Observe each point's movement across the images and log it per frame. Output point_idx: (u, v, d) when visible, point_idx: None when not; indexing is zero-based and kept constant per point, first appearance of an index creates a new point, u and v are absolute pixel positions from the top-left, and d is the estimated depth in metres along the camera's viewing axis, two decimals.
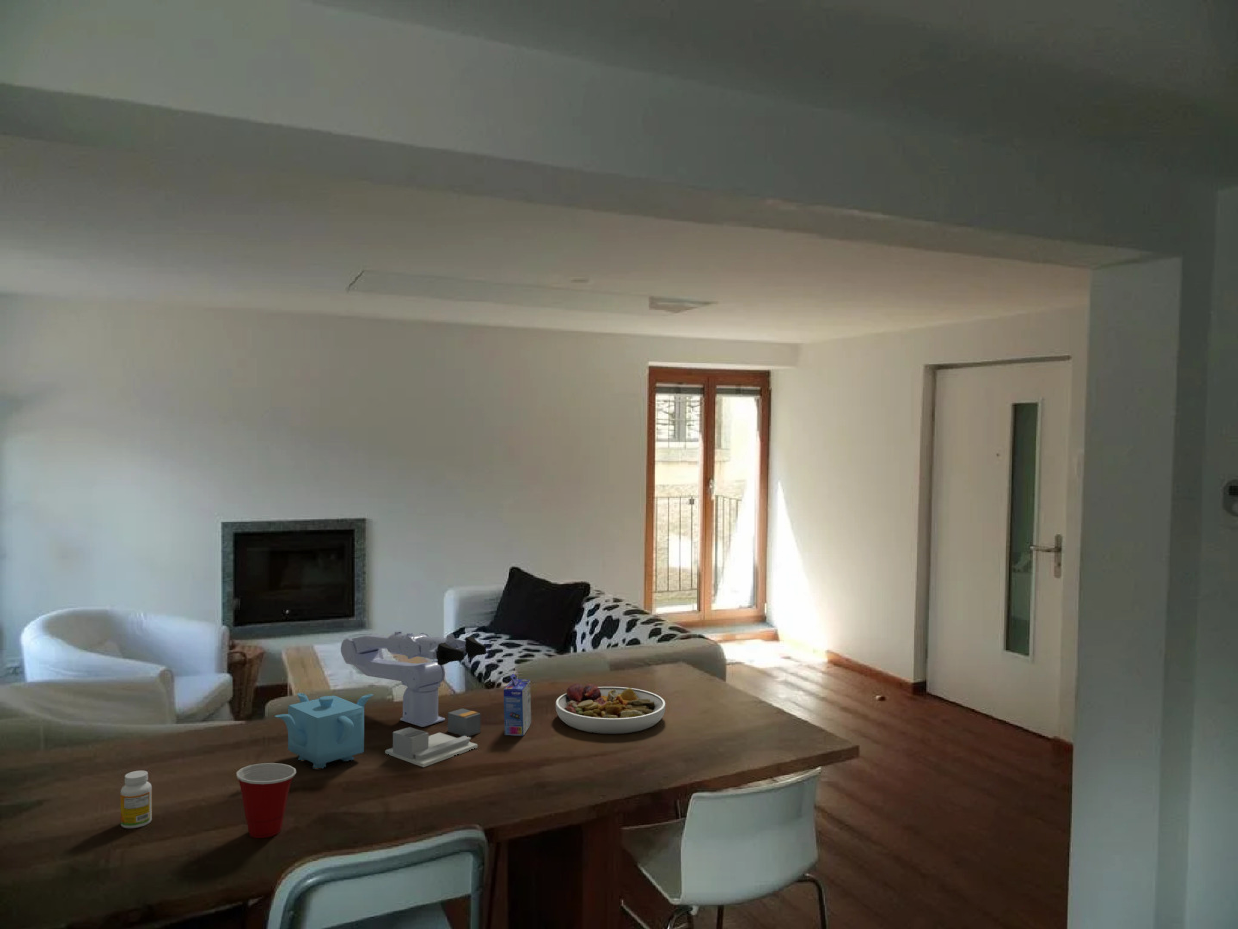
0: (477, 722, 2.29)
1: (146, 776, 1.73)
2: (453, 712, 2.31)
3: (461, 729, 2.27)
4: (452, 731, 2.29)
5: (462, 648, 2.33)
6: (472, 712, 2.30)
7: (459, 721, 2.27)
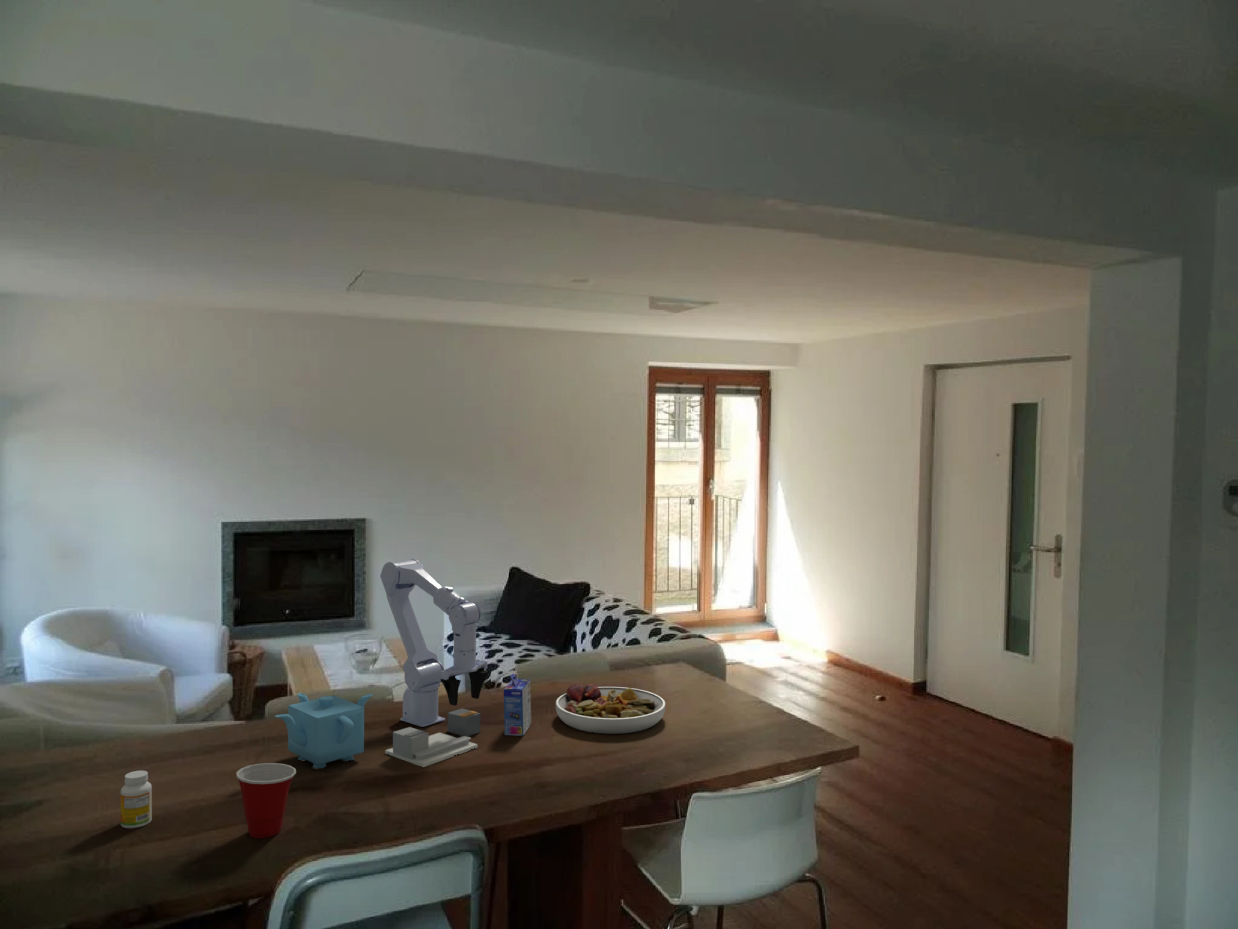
0: (477, 722, 2.29)
1: (146, 776, 1.73)
2: (453, 712, 2.31)
3: (461, 729, 2.27)
4: (452, 731, 2.29)
5: None
6: (472, 712, 2.30)
7: (459, 721, 2.27)
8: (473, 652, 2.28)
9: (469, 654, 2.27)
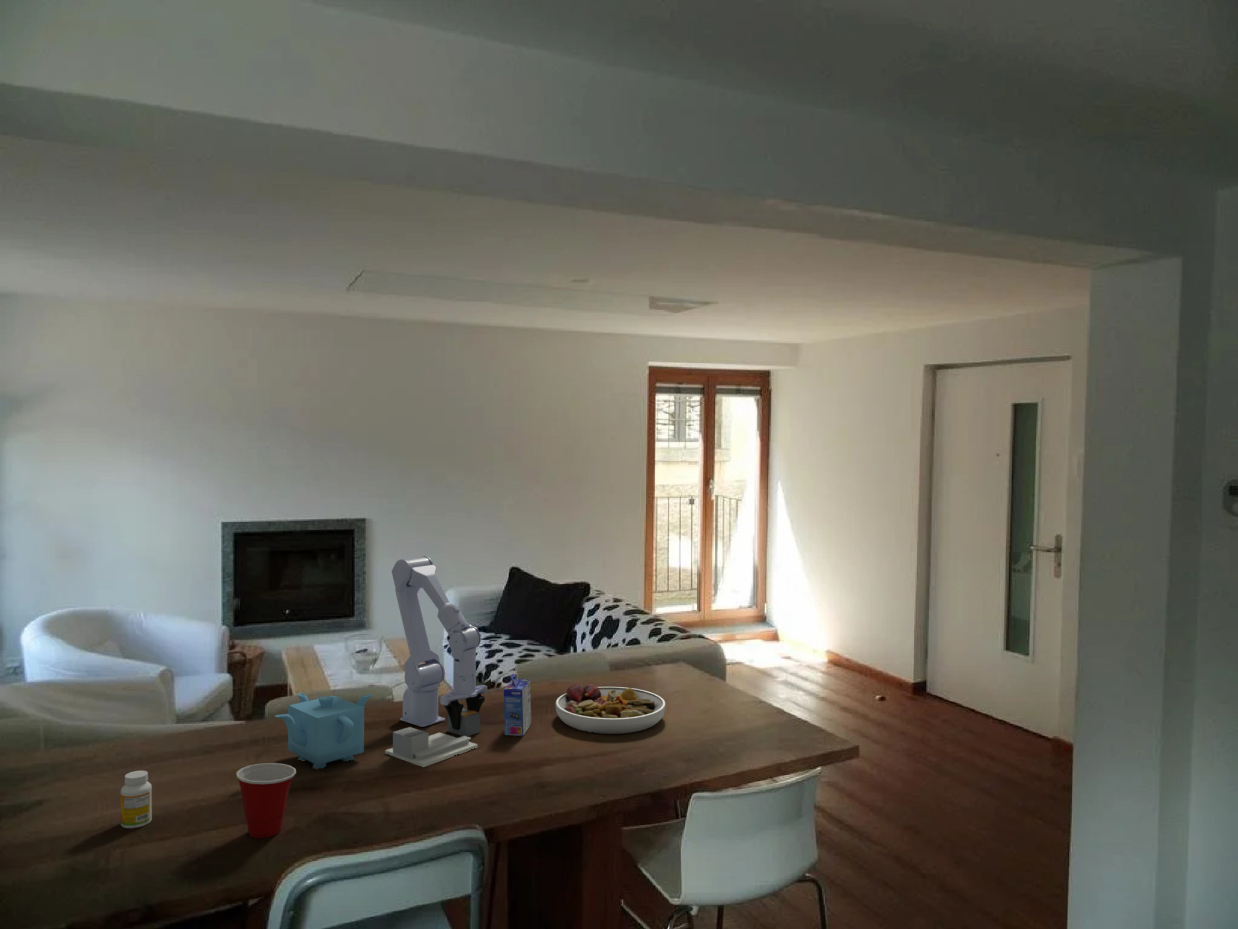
0: (477, 721, 2.29)
1: (146, 776, 1.73)
2: None
3: (461, 728, 2.27)
4: (452, 730, 2.29)
5: None
6: (472, 711, 2.30)
7: None
8: (473, 677, 2.28)
9: (469, 679, 2.27)
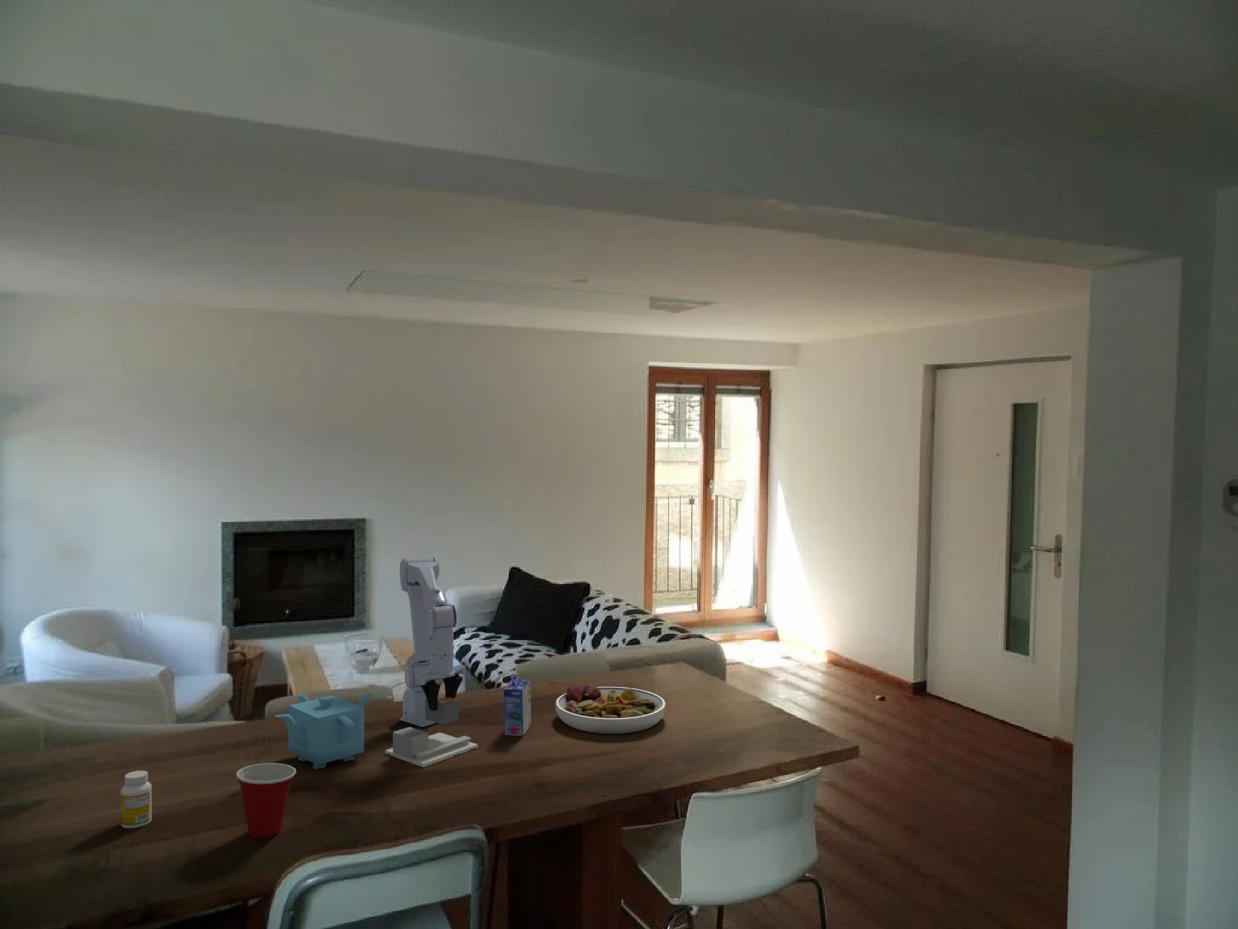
0: (455, 709, 2.22)
1: (146, 776, 1.73)
2: None
3: (439, 716, 2.20)
4: (430, 718, 2.22)
5: None
6: (450, 699, 2.23)
7: (437, 707, 2.20)
8: (450, 656, 2.21)
9: (446, 658, 2.20)
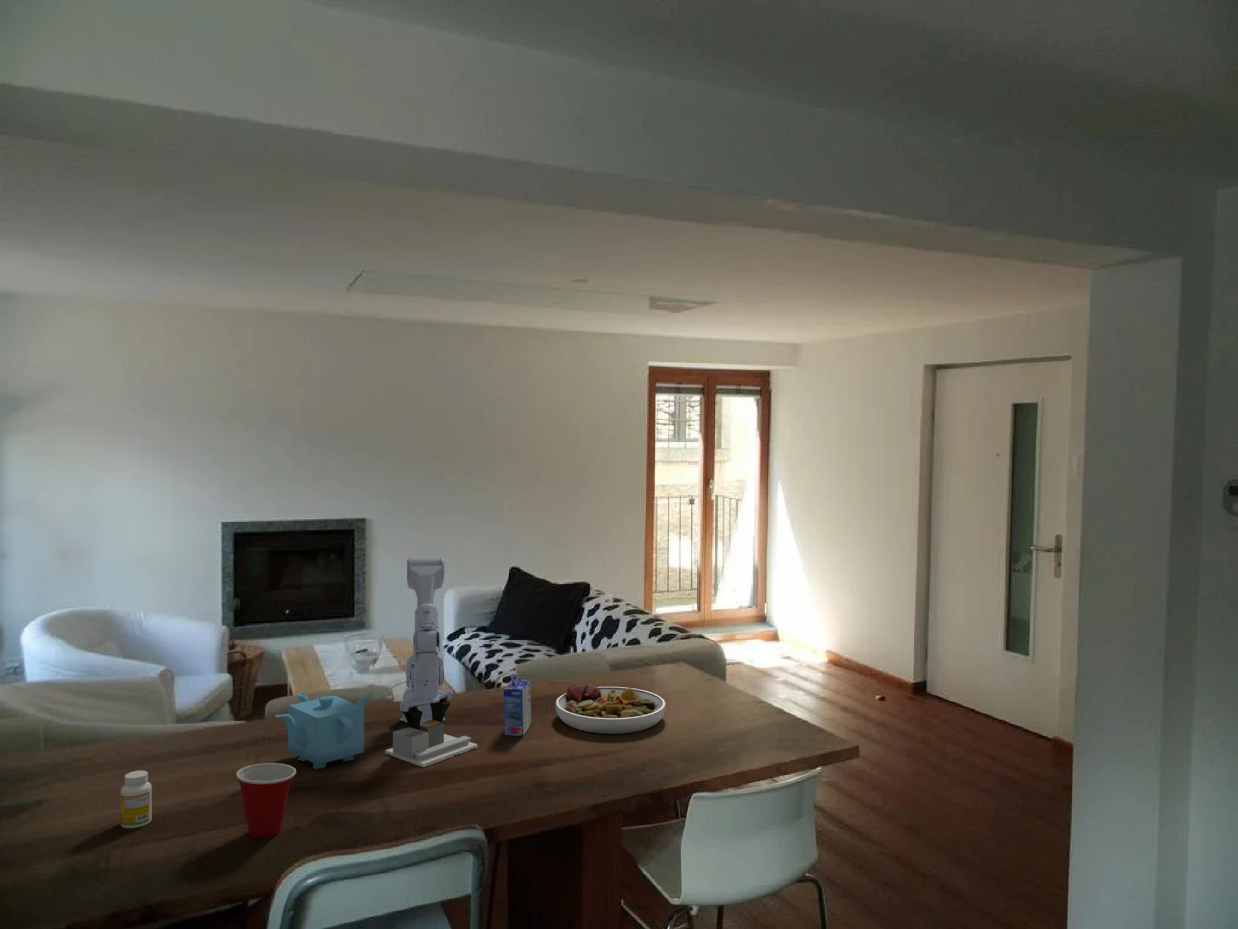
0: (440, 733, 2.18)
1: (146, 776, 1.73)
2: None
3: None
4: None
5: None
6: (435, 722, 2.19)
7: None
8: (435, 682, 2.17)
9: (430, 684, 2.16)
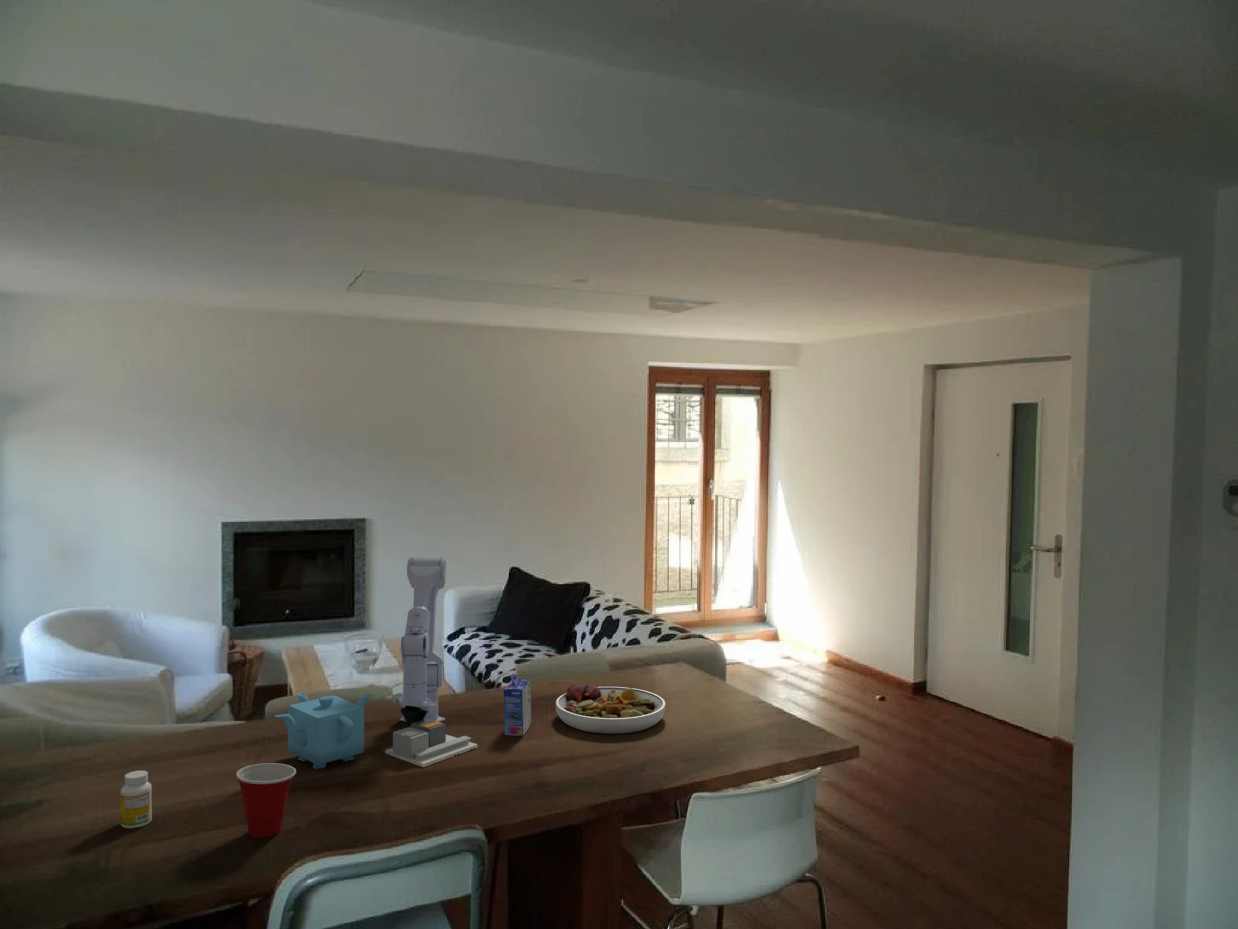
0: (442, 733, 2.17)
1: (146, 776, 1.73)
2: (417, 723, 2.19)
3: None
4: None
5: None
6: (437, 723, 2.18)
7: None
8: (407, 686, 2.19)
9: (404, 686, 2.19)
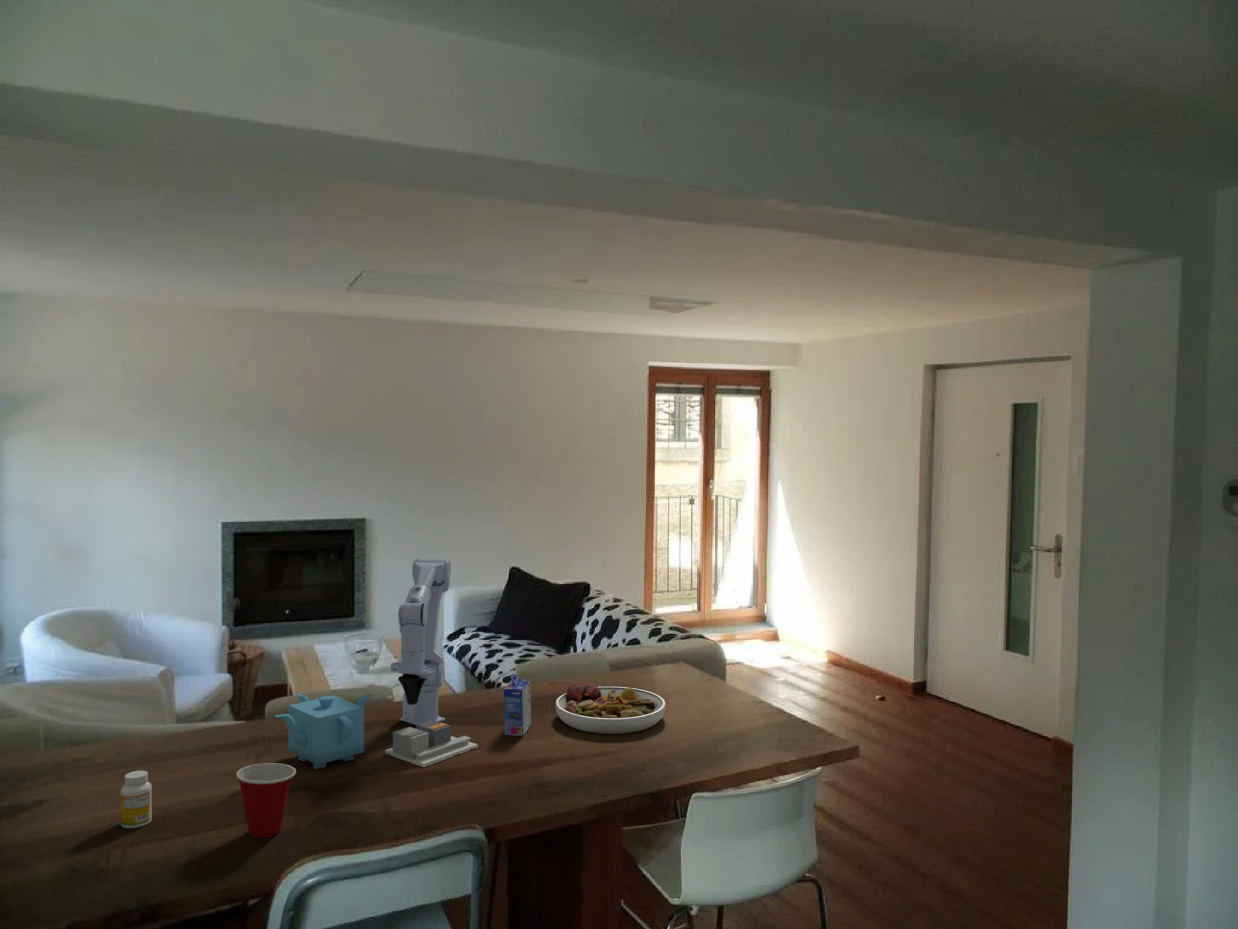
0: (447, 735, 2.16)
1: (146, 776, 1.73)
2: (422, 724, 2.18)
3: (430, 742, 2.14)
4: None
5: None
6: (442, 724, 2.17)
7: None
8: (405, 654, 2.20)
9: (402, 654, 2.21)
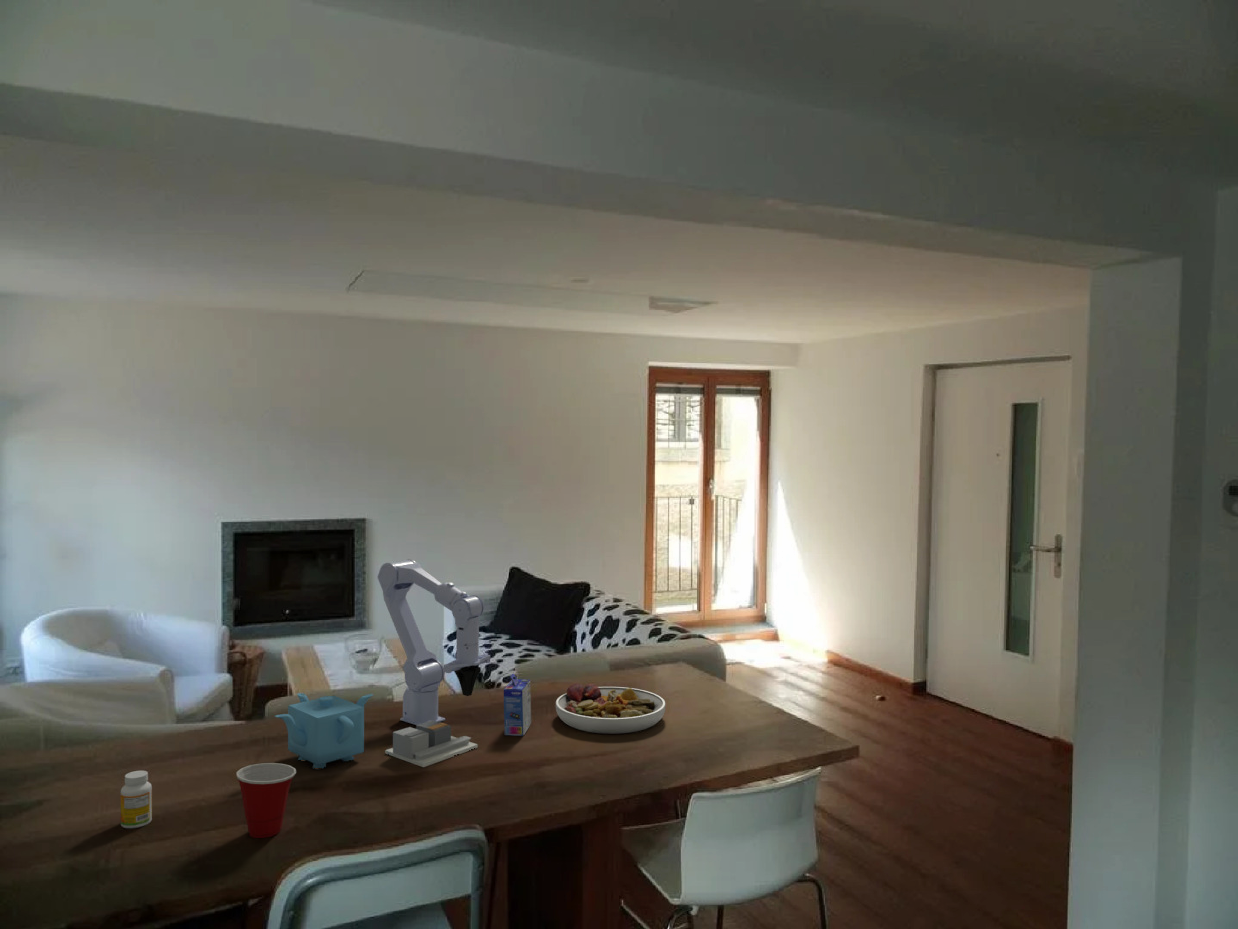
0: (447, 735, 2.16)
1: (146, 776, 1.73)
2: (422, 724, 2.18)
3: (430, 742, 2.14)
4: None
5: None
6: (442, 724, 2.17)
7: None
8: (476, 646, 2.29)
9: (472, 648, 2.28)
